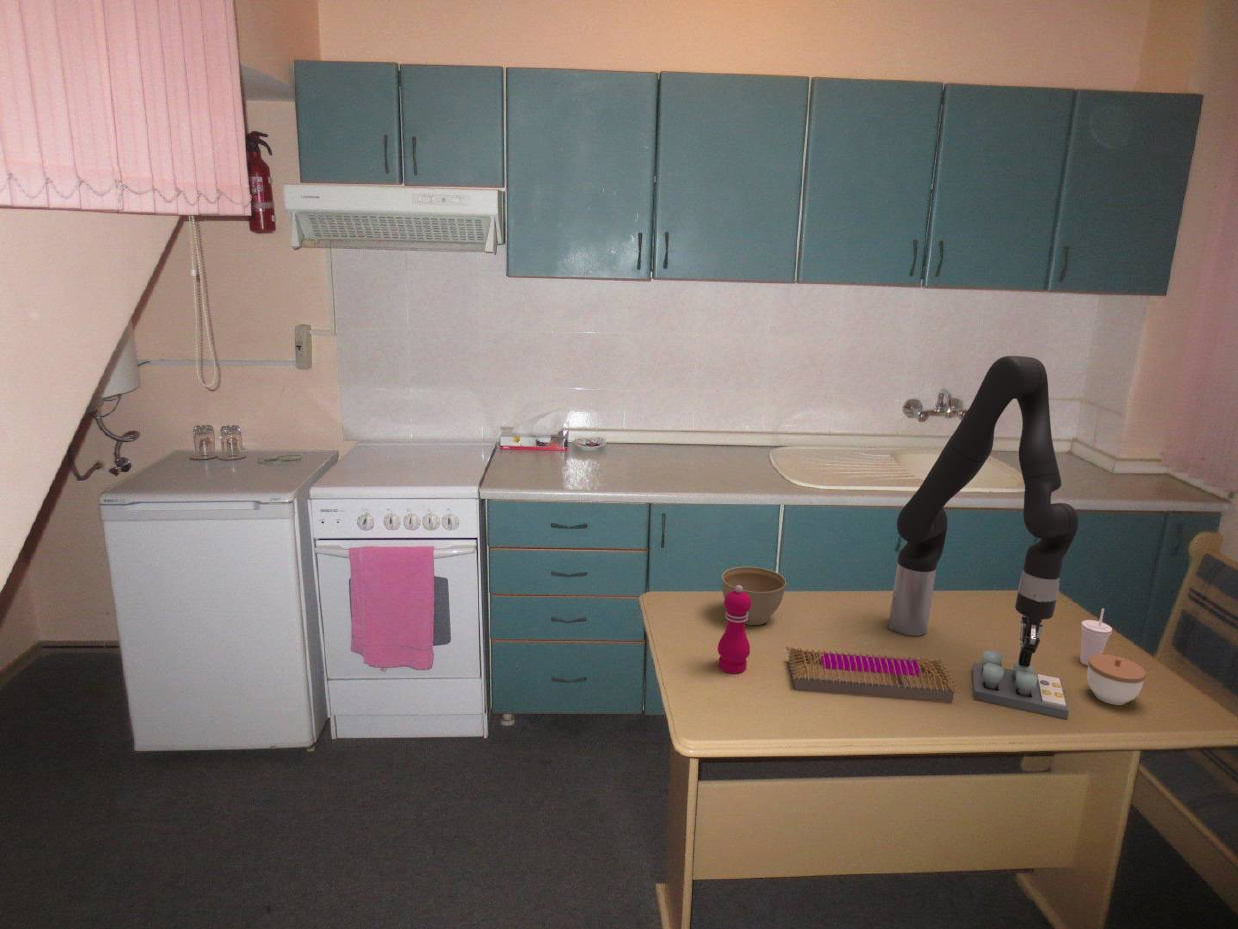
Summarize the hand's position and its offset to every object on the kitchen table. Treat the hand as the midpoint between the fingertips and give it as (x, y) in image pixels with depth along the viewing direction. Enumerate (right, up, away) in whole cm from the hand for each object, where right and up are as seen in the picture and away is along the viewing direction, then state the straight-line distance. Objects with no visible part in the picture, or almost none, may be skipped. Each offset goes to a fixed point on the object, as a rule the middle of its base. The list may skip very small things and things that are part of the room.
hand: (1023, 664), depth 182 cm
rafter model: (-34, -5, +2) cm, 34 cm away
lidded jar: (+18, -7, -1) cm, 20 cm away
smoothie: (+22, -3, +14) cm, 26 cm away
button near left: (-8, -4, -3) cm, 10 cm away
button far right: (0, -5, +1) cm, 5 cm away
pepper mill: (-64, -2, +5) cm, 64 cm away
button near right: (-2, -5, -5) cm, 7 cm away
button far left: (-6, -3, +3) cm, 7 cm away
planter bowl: (-56, +5, +30) cm, 63 cm away
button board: (-2, -6, -1) cm, 6 cm away
